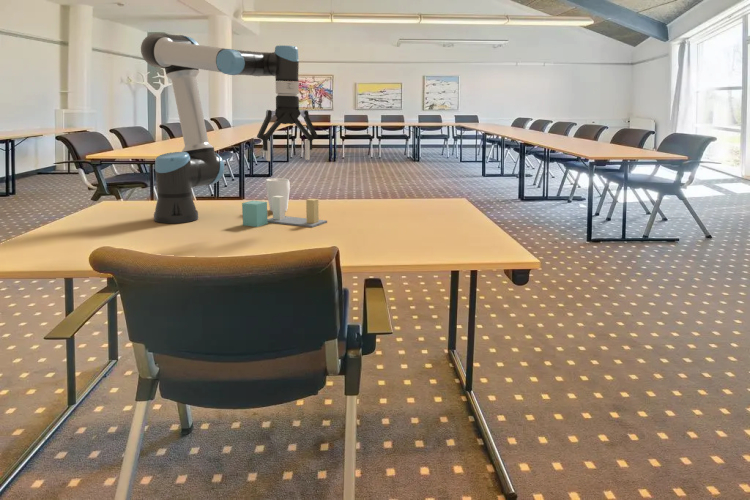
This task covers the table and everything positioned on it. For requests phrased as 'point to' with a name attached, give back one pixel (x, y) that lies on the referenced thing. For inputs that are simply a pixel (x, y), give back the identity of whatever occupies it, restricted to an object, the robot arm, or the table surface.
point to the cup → (278, 190)
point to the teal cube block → (254, 213)
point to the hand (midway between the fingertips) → (288, 160)
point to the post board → (280, 217)
